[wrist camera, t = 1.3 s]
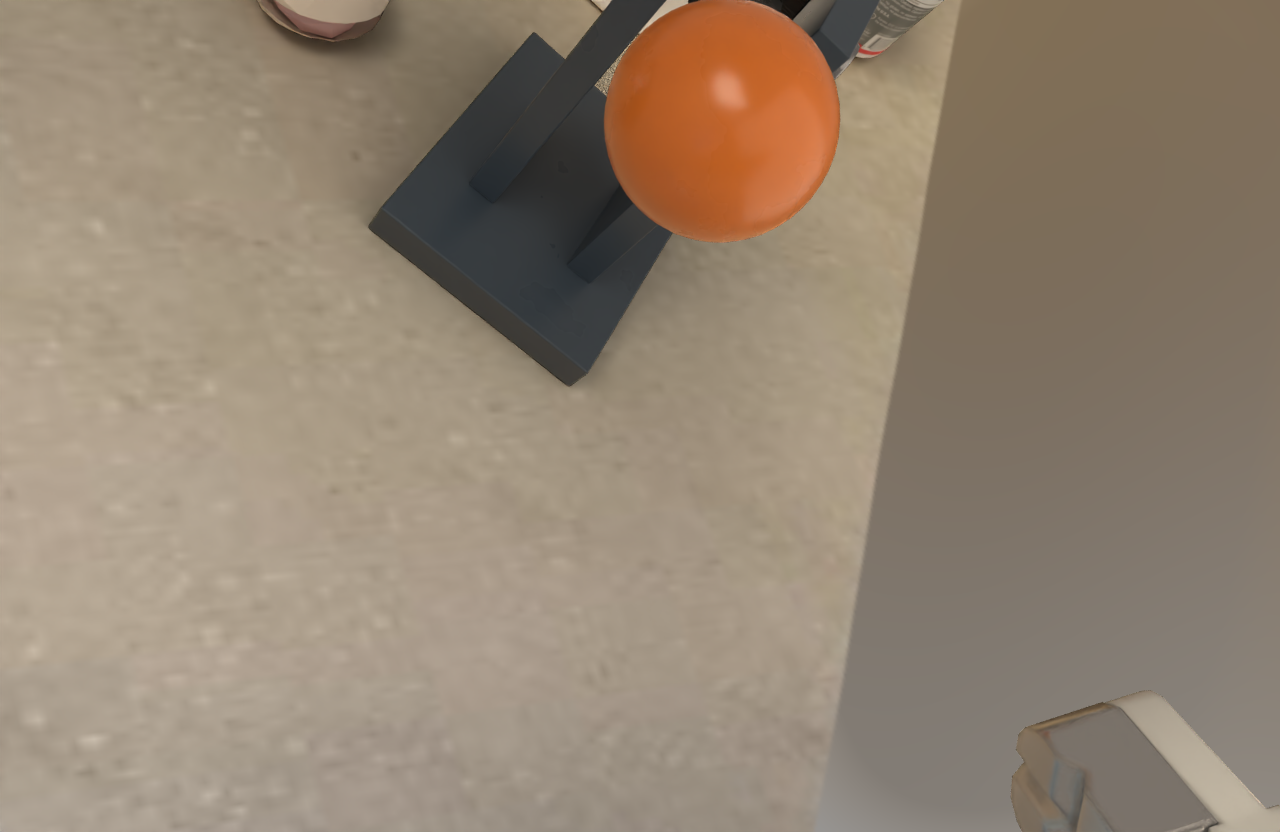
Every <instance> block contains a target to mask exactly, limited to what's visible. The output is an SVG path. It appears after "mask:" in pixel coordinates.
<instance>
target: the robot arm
mask: <svg viewBox="0 0 1280 832" xmlns="http://www.w3.org/2000/svg"><path fill="white" fill-rule="evenodd" d="M1016 751H1017V752H1018V753H1019V755H1020V756H1021V757H1022V759H1023V761H1024V763H1023V764H1022V765H1021V766H1020V767H1019V769H1018V770H1017V771H1016V772H1015V774H1014V775H1013V776H1012V784H1011V800H1012V804H1013V808H1014V812H1015V816H1016V820H1017V822H1018V824H1019V827H1020V829H1021V830H1022V832H1280V806H1279V805H1276V806H1273V807H1269V808H1265V807H1264V806H1263V805H1262V804H1261V803H1260V802H1259V800H1258V799H1257V798H1256V797H1255V796H1254V795H1253V794H1252V793H1251V792H1250V791H1249V790H1248V789H1247V787H1246V786H1245V785H1244V784H1243V783H1242V782H1241V781H1240V780H1239V779H1238V778H1237V777H1236V776H1235V775H1234V774H1233V772H1232V771H1231V770H1230V769H1229V768H1228V767H1227V766H1226V765H1225V764H1224V763H1223V762H1222V760H1221V759H1220V758H1219V757H1218V756H1217V755H1216V754H1215V753H1214V752H1213V751H1212V750H1211V749H1210V748H1209V747H1208V745H1207V744H1206V743H1204V741H1203V740H1202V739H1201V738H1200V737H1199V736H1198V735H1197V734H1196V733H1195V731H1194V730H1193V729H1192V728H1191V727H1190V726H1189V725H1188V724H1187V723H1186V722H1185V721H1184V720H1183V719H1182V717H1181V716H1180V715H1179V714H1178V713H1177V712H1176V711H1175V710H1174V709H1173V708H1172V707H1171V706H1170V705H1169V703H1168V702H1167V701H1166V700H1165V699H1164V698H1163V697H1162V696H1160V695H1158V694H1157V693H1155V692H1153V691H1151V690H1148V691H1139V692H1136V693H1133V694H1130V695H1127V696H1124V697H1121V698H1118V699H1115V700H1112V701H1108V702H1106V703H1103V702H1102V703H1098V704H1095V705H1092V706H1089V707H1086V708H1083V709H1080V710H1077V711H1074V712H1071V713H1068V714H1064V715H1062V716H1058V717H1055V718H1052V719H1049V720H1046V721H1043V722H1040V723H1037V724H1034V725H1031V726H1028V727H1025V728H1024V729H1023V730H1022V731H1021V732H1020V733H1019V735H1018V740H1017V746H1016Z"/></svg>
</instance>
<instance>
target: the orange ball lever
mask: <svg viewBox="0 0 1280 832" xmlns="http://www.w3.org/2000/svg"><path fill="white" fill-rule="evenodd" d="M810 1H811V0H688V4H685V5H683V6H681V7H678V8H676V9H674V10H671V11H670V12H668V13H666V14H665V15H663V16H661V17H660V18H658V19H657V20H656V21H654V22H653V23H652V24H651V25H649V26H648V27H647V28H646V29H645V30H644V31H643V32H642V33H641V34H640V35H639V36H638V37H637V38H636V39H635V40H634V41H633V42H632V43H631V45H630V46H629V48H628V49H627V50H626V52H625V53H624V55H623V56H622V58H621V60H620V62H619V64H618V66H617V67H616V70H615V72H614V75H613V78H612V80H611V83H610V86H609V89H608V93H607V97H606V102H605V112H604V137H605V143H606V148H607V153H608V157H609V160H610V163H611V166H612V168H613V171H614V173H615V176H616V178H617V180H618V181H619V183H620V185H621V186H622V188H623V190H624V191H625V193H626V194H627V196H628V197H629V199H630V200H631V201H632V202H633V203H634V204H635V206H636V207H637V208H638V209H639V210H640V211H641V212H642V213H644V214H645V215H646V216H647V217H648V218H649V219H651V220H652V221H653V222H655V223H656V224H658V225H660V226H661V227H663V228H665V229H667V230H669V231H671V232H673V233H675V234H677V235H680V236H683V237H686V238H690V239H693V240H698V241H705V242H733V241H739V240H746V239H749V238H753V237H756V236H759V235H762V234H764V233H766V232H768V231H770V230H772V229H774V228H776V227H778V226H780V225H781V224H783V223H784V222H786V221H787V220H789V219H790V218H792V217H793V216H794V215H795V214H796V213H797V212H799V211H800V210H801V209H802V208H803V207H804V206H805V205H806V204H807V202H808V201H809V200H810V199H811V198H812V197H813V195H814V194H815V192H816V191H817V189H818V188H819V187H820V185H821V184H822V182H823V180H824V178H825V176H826V174H827V172H828V171H829V169H830V166H831V163H832V161H833V158H834V155H835V152H836V147H837V142H838V138H839V127H840V104H839V98H838V93H837V87H836V84H835V81H834V78H833V75H832V72H831V69H830V67H829V65H828V63H827V61H826V59H825V57H824V55H823V53H822V52H821V50H820V49H819V48H818V46H817V45H816V43H815V42H814V41H813V39H812V38H811V37H810V36H809V35H808V34H807V33H806V32H805V31H804V30H803V29H802V28H801V27H800V26H799V25H798V24H796V23H795V22H794V21H793V20H794V18H795V17H796V16H797V15H798V14H799V13H800V12H801V11H802V10H803V9H804V7H805V6H806V5H807V4H808V3H809V2H810Z"/></svg>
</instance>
